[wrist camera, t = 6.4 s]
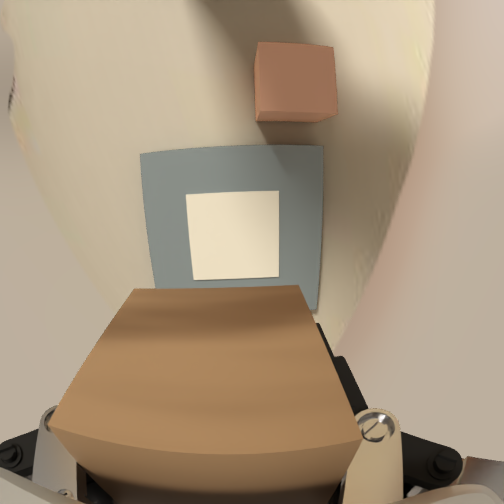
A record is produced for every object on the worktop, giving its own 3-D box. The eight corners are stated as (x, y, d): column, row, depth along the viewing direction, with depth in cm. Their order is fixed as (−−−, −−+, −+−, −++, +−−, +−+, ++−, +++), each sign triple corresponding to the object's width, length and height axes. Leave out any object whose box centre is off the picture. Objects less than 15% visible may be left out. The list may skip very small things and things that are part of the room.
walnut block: (134, 288, 9) (47, 424, 3) (298, 284, 9) (363, 438, 4) (163, 399, 11) (136, 518, 5) (289, 398, 11) (314, 522, 5)
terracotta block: (254, 65, 21) (258, 41, 16) (313, 68, 22) (333, 47, 16) (255, 121, 23) (260, 111, 18) (316, 122, 23) (337, 114, 18)
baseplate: (144, 153, 24) (139, 153, 22) (319, 146, 24) (323, 145, 23) (163, 309, 29) (160, 316, 28) (313, 303, 29) (316, 310, 28)
